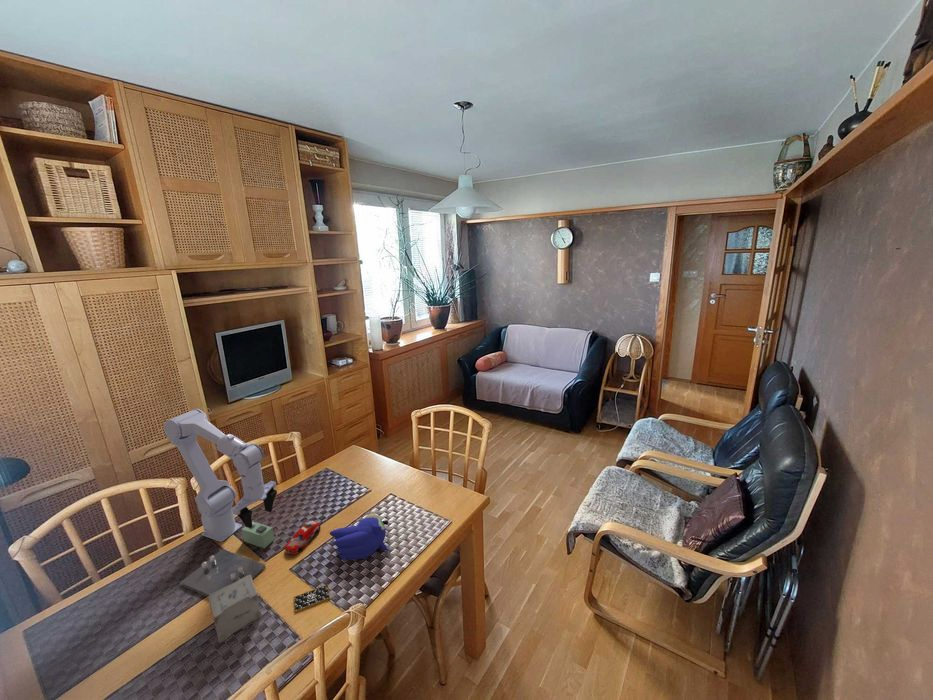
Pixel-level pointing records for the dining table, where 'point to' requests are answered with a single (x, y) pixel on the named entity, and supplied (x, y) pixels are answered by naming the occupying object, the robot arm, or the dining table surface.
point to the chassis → (221, 572)
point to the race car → (302, 537)
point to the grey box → (234, 607)
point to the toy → (361, 538)
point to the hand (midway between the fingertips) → (259, 518)
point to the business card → (311, 598)
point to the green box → (258, 534)
